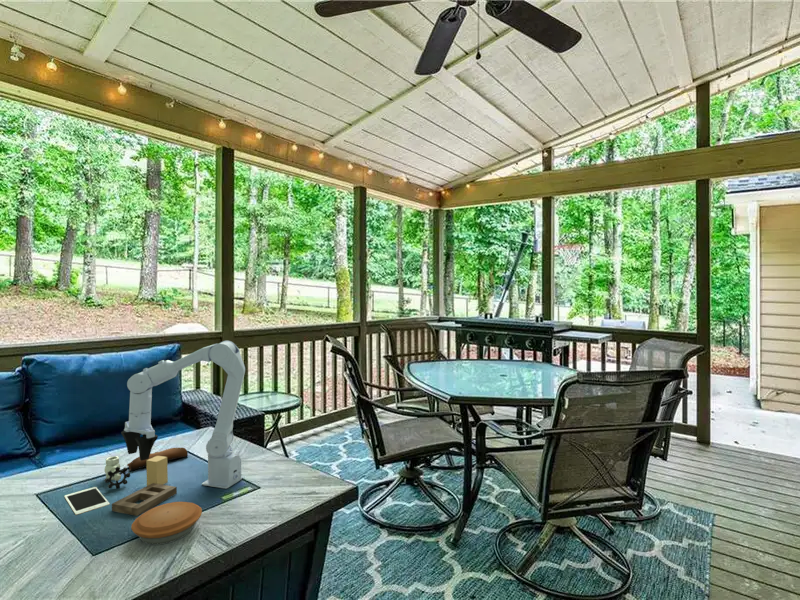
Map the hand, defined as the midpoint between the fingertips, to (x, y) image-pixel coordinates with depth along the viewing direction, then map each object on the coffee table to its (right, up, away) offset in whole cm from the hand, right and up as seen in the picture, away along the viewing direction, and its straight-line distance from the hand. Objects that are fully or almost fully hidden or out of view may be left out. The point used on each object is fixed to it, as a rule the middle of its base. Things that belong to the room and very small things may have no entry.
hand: (138, 456), depth 129 cm
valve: (-10, -10, +5) cm, 15 cm away
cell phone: (-11, -11, -7) cm, 17 cm away
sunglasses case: (-6, -10, +21) cm, 25 cm away
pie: (+22, -11, -23) cm, 34 cm away
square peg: (+4, -10, +3) cm, 11 cm away
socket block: (+7, -10, -8) cm, 15 cm away
